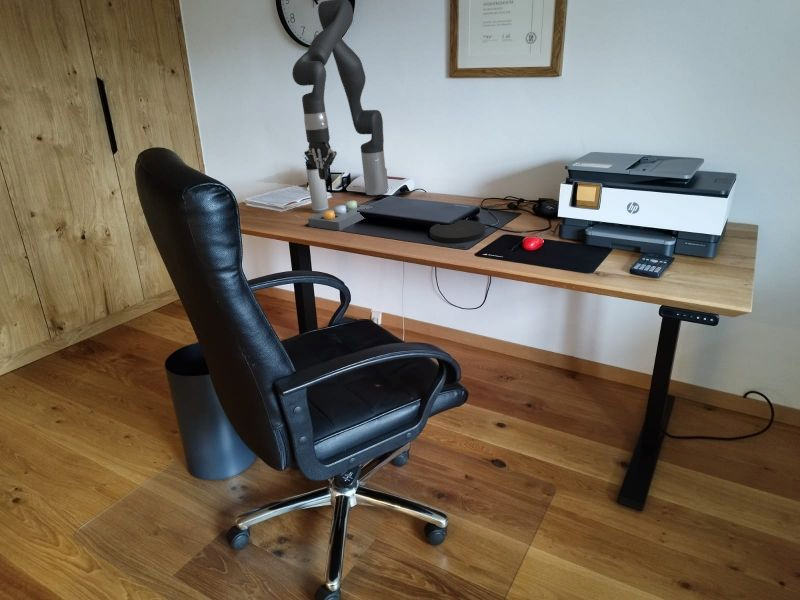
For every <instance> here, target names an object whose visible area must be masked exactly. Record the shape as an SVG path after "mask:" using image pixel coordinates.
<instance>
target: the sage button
mask: <svg viewBox="0 0 800 600" xmlns="http://www.w3.org/2000/svg"><path fill="white" fill-rule="evenodd" d="M345 203H346V209H351V210H353V209H356V208H357V205H358V203H357V200H354V199H353V200H347V201H345Z"/></svg>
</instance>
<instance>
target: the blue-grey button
mask: <svg viewBox="0 0 800 600" xmlns="http://www.w3.org/2000/svg"><path fill="white" fill-rule="evenodd" d="M338 205H339V206H337V205H335V206H336V207H335V206H334V207H335V214H339V215H343V214H345V213H346V206H345V205H340V204H338Z"/></svg>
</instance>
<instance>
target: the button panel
mask: <svg viewBox="0 0 800 600" xmlns="http://www.w3.org/2000/svg"><path fill="white" fill-rule="evenodd" d="M339 205H345V206H346V202H342V203H340V204H338V205H335V206H332V208H331V207H330V208H329V209H328V210H333V211H334V213H335V207H336V206H339ZM373 207H374V206H372V205H364V204H363V205H362V204H357V208H356V209H353V210H351V209H346V213H345V214H343V215H339V214H335V218H334V219H332V220H325V219H324V217H323V212H321V213H316V214H315V215H313V216H309V217H308V218H307V220H308V227H311V228H317V229H326V230H330V231H331V230H332V231H338V232H339V231H342V230H344V229H347V228H348V227H350V226H352V225H354V224H356V223H358V222H360V221H362V220H364V219H365V218H364V217H363V216H362V215H361V214H360V212H357V210H359V209H365V208H366V209H369V208H373ZM373 209H374V208H373ZM328 210H326V211H328Z"/></svg>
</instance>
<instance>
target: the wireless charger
mask: <svg viewBox="0 0 800 600" xmlns="http://www.w3.org/2000/svg"><path fill="white" fill-rule="evenodd" d="M458 220H459V221H457V222H455V223H454V224H451V225H440V224H438V223H436V224H434V225H433V226H431V227H430V228H429V236H430V238H431V239H432V240H433V241H437V242H439V243H445V244H446V243H447V244H463V243H469V242H474V241H477V240H479V239H481V238H483V237H484V236H485V235H486V226H485V224H483V223H481V222H480V221H475V220H471V219H470V220H468V219H458Z"/></svg>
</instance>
